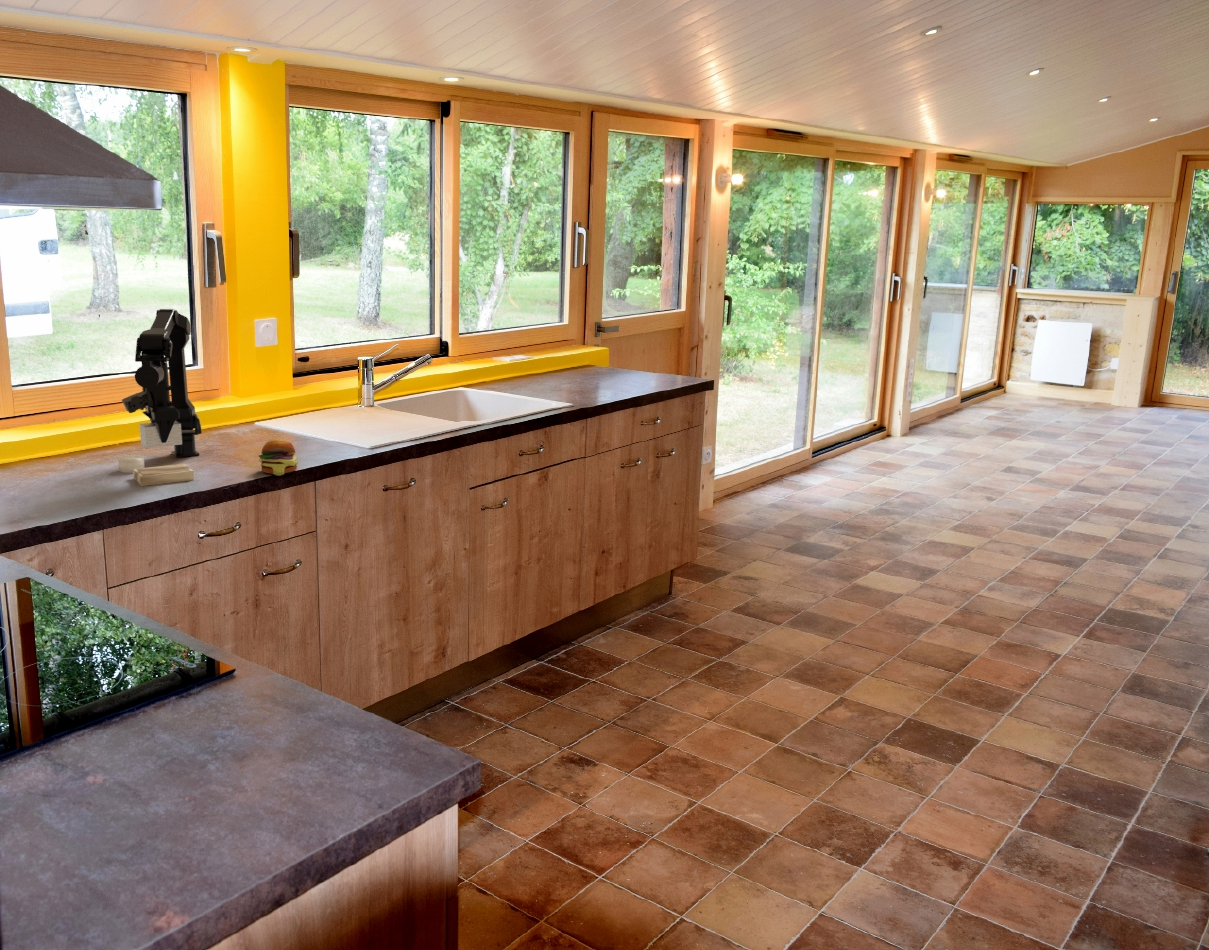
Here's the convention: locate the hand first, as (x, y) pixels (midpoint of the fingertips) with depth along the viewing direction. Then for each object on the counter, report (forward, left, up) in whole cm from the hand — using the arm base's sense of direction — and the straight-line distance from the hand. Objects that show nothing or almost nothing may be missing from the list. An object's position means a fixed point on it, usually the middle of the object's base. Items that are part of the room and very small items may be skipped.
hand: (161, 440), depth 281 cm
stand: (0, 0, -10) cm, 10 cm away
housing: (0, 0, -1) cm, 1 cm away
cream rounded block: (-14, -5, -11) cm, 18 cm away
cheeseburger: (+5, +29, -11) cm, 31 cm away
